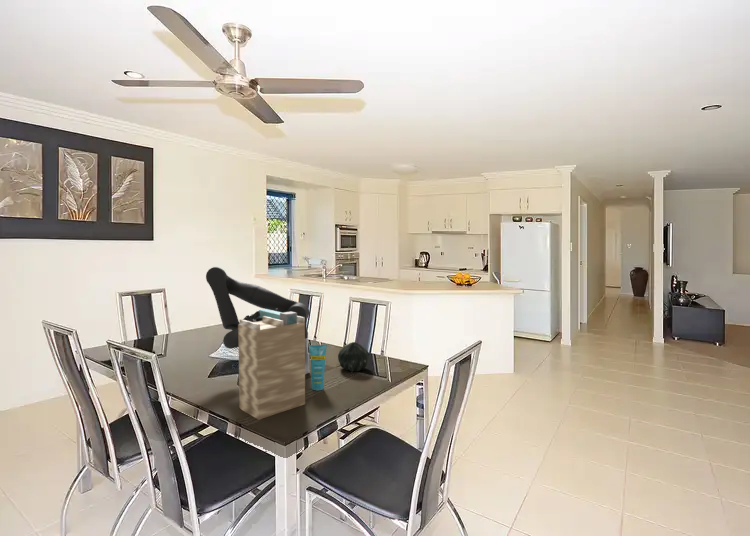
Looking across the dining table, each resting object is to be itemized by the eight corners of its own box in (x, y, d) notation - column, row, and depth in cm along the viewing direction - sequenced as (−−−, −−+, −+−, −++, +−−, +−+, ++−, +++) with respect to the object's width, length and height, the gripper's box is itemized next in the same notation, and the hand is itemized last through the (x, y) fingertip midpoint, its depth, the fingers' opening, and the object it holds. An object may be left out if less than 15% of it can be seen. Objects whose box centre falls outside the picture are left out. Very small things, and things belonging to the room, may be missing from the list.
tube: (309, 391, 174) (309, 346, 172) (308, 387, 178) (308, 343, 177) (327, 390, 175) (327, 345, 174) (326, 386, 180) (326, 342, 179)
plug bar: (257, 317, 168) (256, 307, 167) (267, 315, 171) (267, 306, 171) (285, 325, 153) (285, 314, 153) (297, 323, 157) (297, 312, 156)
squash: (352, 351, 216) (342, 334, 206) (376, 357, 208) (367, 339, 199) (339, 374, 207) (328, 357, 198) (365, 381, 200) (354, 364, 190)
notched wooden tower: (239, 408, 156) (238, 319, 153) (284, 394, 170) (284, 312, 168) (258, 419, 146) (257, 324, 144) (305, 404, 160) (304, 317, 158)
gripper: (233, 320, 173) (249, 305, 162) (263, 316, 183) (281, 301, 172) (237, 337, 170) (254, 322, 160) (268, 332, 180) (286, 318, 170)
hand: (268, 311), depth 166 cm, fingers open, 8 cm apart
